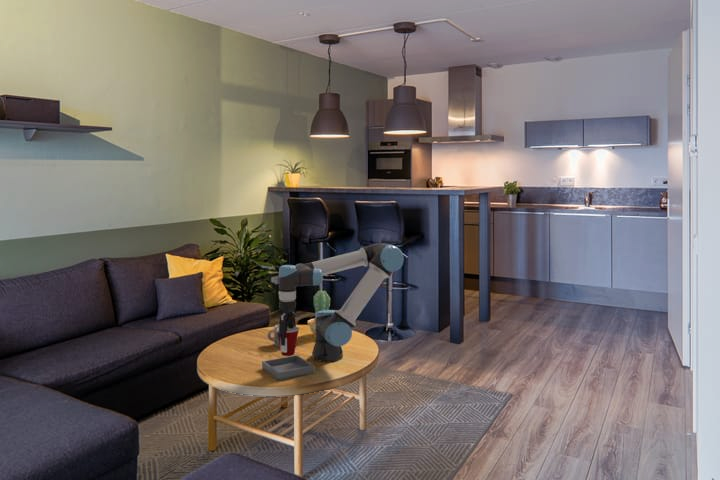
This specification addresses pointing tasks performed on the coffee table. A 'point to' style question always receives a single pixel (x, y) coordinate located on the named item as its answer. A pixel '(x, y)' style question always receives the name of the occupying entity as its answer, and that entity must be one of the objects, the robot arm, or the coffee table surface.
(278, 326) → the coffee mug
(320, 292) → the potted cactus
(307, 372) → the bin
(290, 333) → the plastic cup
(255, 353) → the coffee table surface
